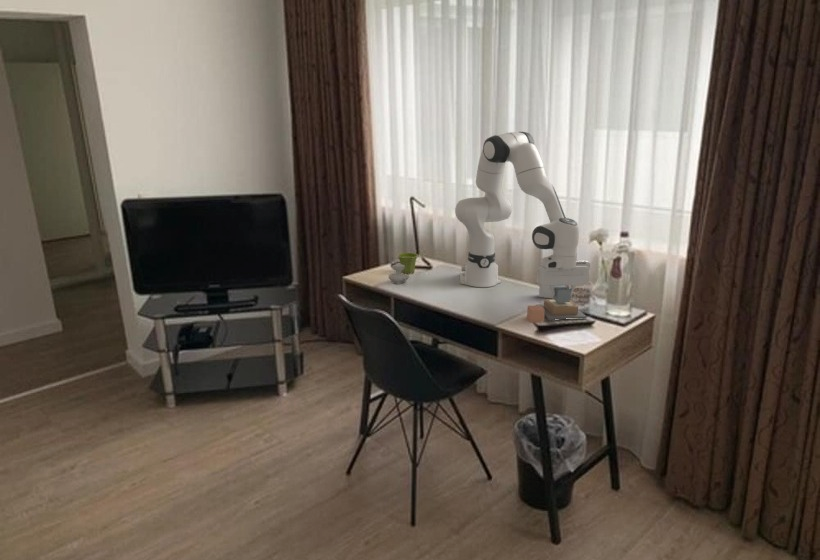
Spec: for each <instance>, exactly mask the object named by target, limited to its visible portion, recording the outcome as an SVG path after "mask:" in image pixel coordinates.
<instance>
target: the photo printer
mask: <svg viewBox="0 0 820 560" xmlns="http://www.w3.org/2000/svg"><path fill="white" fill-rule="evenodd" d="M555 286H565V285H555ZM553 290H554V288H553ZM538 297H539V298H544V299H553V296H552V295H551V289H550V288H549V286H540V285H539V291H538Z"/></svg>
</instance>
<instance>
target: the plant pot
mask: <svg viewBox="0 0 820 560" xmlns="http://www.w3.org/2000/svg"><path fill="white" fill-rule="evenodd" d="M397 257H398V259H399V264H401V265H405V268H404V270H402V271H401V273H403V274H407V275H412V274H414V273H415V271H416V270H415V269H416V262H417V258H418V257H419V255H418V253H415V252H402V253H399V254H398V255H397Z"/></svg>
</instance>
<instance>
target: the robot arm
mask: <svg viewBox="0 0 820 560" xmlns="http://www.w3.org/2000/svg"><path fill="white" fill-rule="evenodd" d="M533 137H534V136H533V135H531V133H529V132H525V131H518V132H517V131H512V132H506V133H501V134H497V135H492V136H490V137H487V138H486V139H485V140H484V143H483V145H482V146H483V147H482V150H481V153H480V156H479V160H478V164H477V171H476V175H475V185H476V187H477V188H478V189H479V191H482V192H483V193H484V194H485V195H484V196H482V197H468V198H464V199H461V200H459V201H457V203H456V204H455V208H454V211H455V212H454V213H455V216H456V218H457V221H459V222H460V223H461V224H463V225H464V227H465V228H466V230H467V232H468V237H469V251H468V255H467V261H466V262H465V264H464V266H461V272H460V273H459V283H460V284H462V285H467V286H469V287H470V286H471V287H473V288H474V287H475V288H490V287H493V286H496V285H497V284H500V283H502V279H500V278H499V266H498V264H497V263H496V253H495V247H496V245H495V244H496V241H495V240H496V238H495V235H494V234H493V232H492V231H490V230H488V229H486V228H485V223H494V222H495V223H496V222H502V221H504V220H507V219H509V218H510V217H511V214H512V211H513V206H512V204H511V201H510V200H509V198H507V197H506V196H505V194H504V192H503V180H504V179H503V178H504V172H505V168H506V167H505V166H506V163H507V162H508V163H511V164H512V165H513V168H514V172H515V176H516V182H517V184H518V187H519V189H520V190H521V191H522V192H523V193H524V194H526V195H528V196H531V197H534V198H536V199H538V200H539V201H540V202H541V203H542V205H543V207H544V209H545V212H546V215H547V217H548V219H549V223H545V224H544V223H543V224H541V225H538V226H536V227H534V229H533V230H532V234H531V240H532V243H533V245H534V246H535V247H536V248H537V249H539V250H551V251H553V252H552V253H553V254H552V255H548V256H546V257H543V258H541V259H540V260H539V263H540V265H539V267H538V268H537V273H536V280H535V281H536V283H537V285H539V287H540V286H549V288H550V289H551V295H552V296H556V293H557V292H556V291H554V290H553V288H554V286H555V285H564V286H570V287H569V289H570V290H571V295H570V297H572V296H573V292H574V291H575V289H576V287H577V286H583V285H585V286H586V285H587V286H588V284H589V283H590V270H591V263H590V262H589V261H587V260H577V259H578V252H577V248H578V245H579V238H580V237H579V236H580V231H579V225H578V222H577V221H576V220H574V219H572V218H568V217H566V215H565V213H564V209H563V206H562V204H561V202H560V198H559V196H558V194H557V191H556V190H555V187H554V186H553V184H552V182H550V179H549V178H548V175H547V173H546V170H545V166H544V163H543V160H542V157H541V155H540V152H539V150H538V148H537V146H536V144H535V139H534V138H533Z"/></svg>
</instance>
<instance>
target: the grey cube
mask: <svg viewBox="0 0 820 560" xmlns="http://www.w3.org/2000/svg"><path fill="white" fill-rule="evenodd" d="M554 291H556V292H557V293H556V296H553V299H554V300H555V301H556V302H557V303H562V302H570V300H571V296H570V295H571V290H570V287H568V285H564V286H554Z"/></svg>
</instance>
